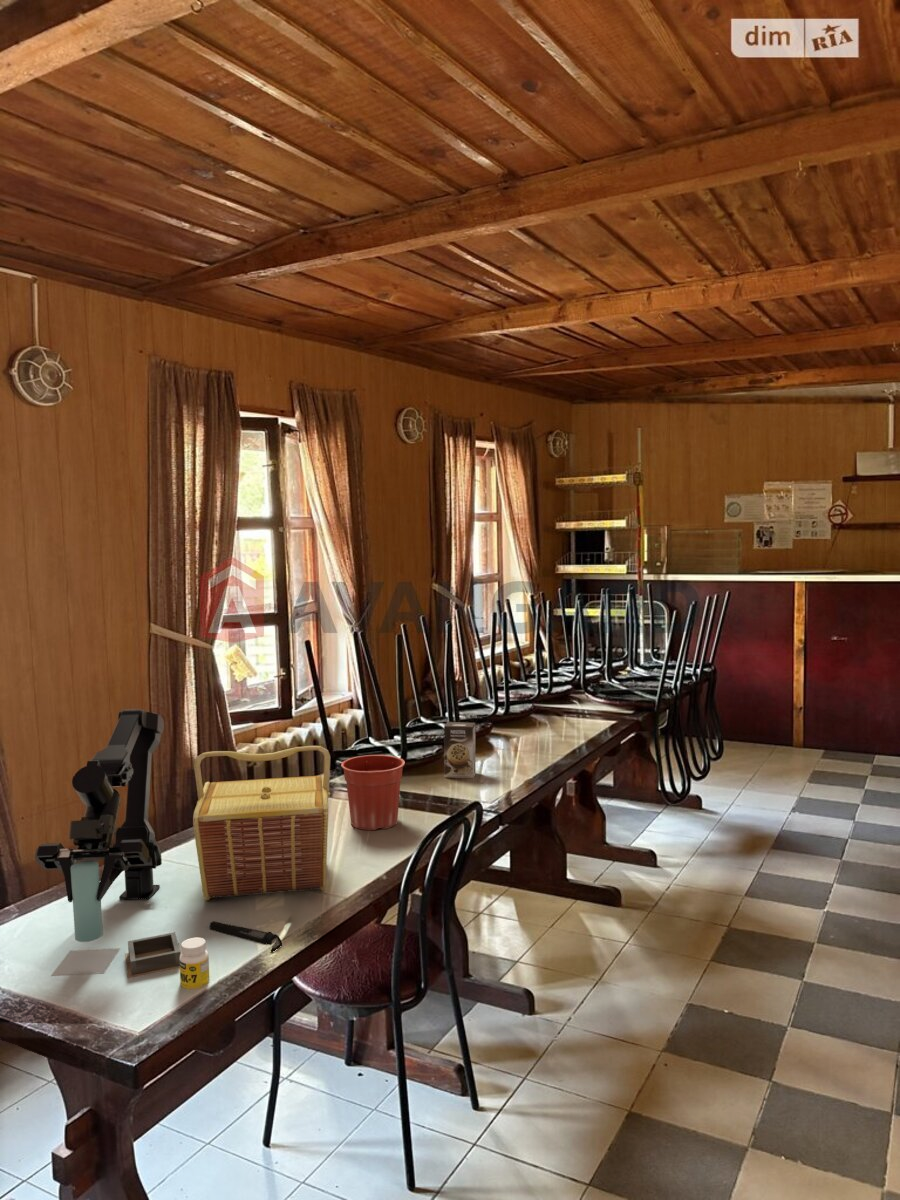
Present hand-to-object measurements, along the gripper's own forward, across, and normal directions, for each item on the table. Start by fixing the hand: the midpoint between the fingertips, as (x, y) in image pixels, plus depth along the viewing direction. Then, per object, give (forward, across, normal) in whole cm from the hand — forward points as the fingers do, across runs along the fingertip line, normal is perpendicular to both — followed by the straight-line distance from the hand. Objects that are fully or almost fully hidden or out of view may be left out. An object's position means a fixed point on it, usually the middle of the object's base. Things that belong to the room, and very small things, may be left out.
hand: (84, 900), depth 156 cm
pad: (+8, -1, +10) cm, 13 cm away
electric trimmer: (+4, +26, +16) cm, 31 cm away
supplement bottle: (+15, +20, +4) cm, 25 cm away
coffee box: (-69, +76, +89) cm, 136 cm away
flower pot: (-41, +50, +61) cm, 89 cm away
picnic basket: (-16, +27, +36) cm, 48 cm away
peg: (+4, 0, +6) cm, 7 cm away
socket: (+9, +11, +10) cm, 18 cm away
